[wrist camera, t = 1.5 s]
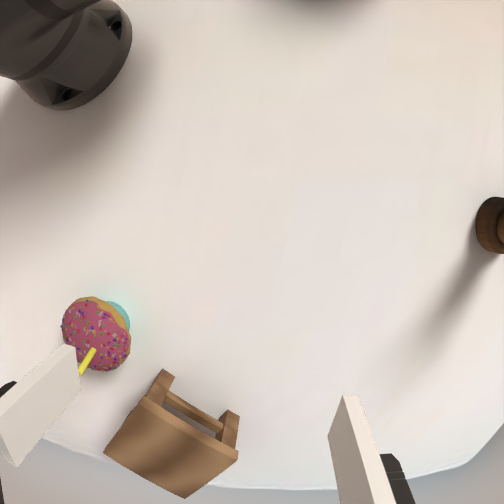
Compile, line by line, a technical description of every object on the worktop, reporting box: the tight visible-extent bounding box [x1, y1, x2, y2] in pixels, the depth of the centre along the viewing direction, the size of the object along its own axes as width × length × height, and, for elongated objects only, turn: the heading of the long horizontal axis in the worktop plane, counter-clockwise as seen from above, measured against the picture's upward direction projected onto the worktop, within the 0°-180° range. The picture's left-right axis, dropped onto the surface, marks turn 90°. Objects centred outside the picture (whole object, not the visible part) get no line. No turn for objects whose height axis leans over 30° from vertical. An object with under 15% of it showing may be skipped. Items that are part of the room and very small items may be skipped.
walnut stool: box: [103, 369, 240, 499], centre depth 34 cm, size 12×12×8 cm
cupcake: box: [61, 297, 131, 376], centre depth 29 cm, size 9×8×12 cm
